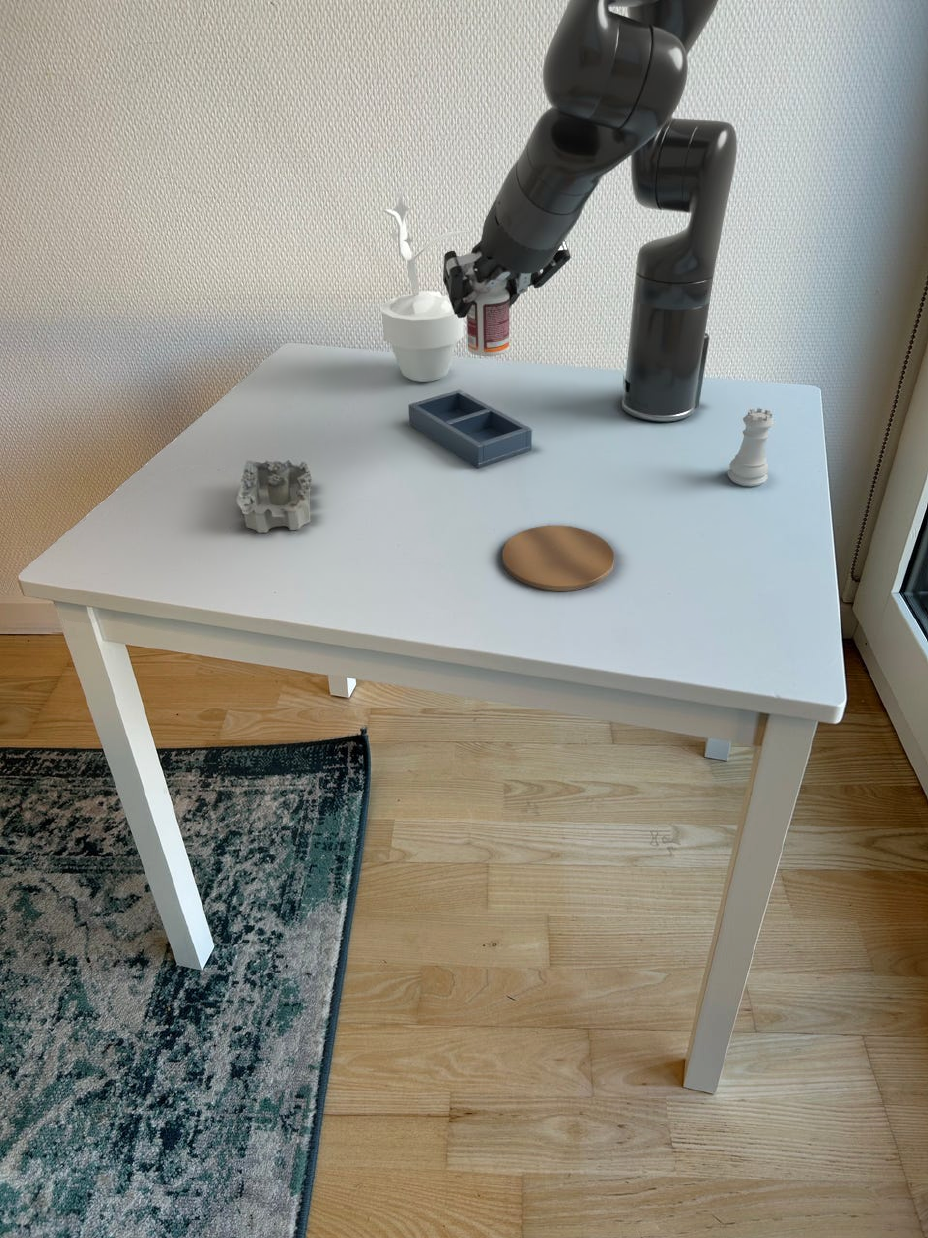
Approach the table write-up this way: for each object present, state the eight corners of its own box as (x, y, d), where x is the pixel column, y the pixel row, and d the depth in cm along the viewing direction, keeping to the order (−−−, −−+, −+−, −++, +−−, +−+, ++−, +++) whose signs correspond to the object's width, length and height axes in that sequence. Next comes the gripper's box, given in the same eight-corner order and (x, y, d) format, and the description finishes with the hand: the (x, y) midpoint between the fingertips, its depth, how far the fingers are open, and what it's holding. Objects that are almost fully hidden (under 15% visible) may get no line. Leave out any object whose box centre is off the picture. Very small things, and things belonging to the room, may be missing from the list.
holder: (460, 409, 115) (459, 389, 113) (531, 450, 105) (532, 428, 103) (409, 424, 111) (408, 404, 109) (478, 468, 101) (478, 446, 99)
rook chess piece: (770, 473, 99) (784, 407, 94) (763, 491, 96) (778, 423, 91) (730, 466, 100) (743, 401, 96) (722, 483, 97) (735, 416, 92)
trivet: (564, 519, 92) (564, 514, 91) (637, 565, 84) (637, 560, 84) (480, 552, 87) (480, 547, 86) (550, 605, 79) (550, 599, 79)
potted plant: (376, 388, 121) (360, 193, 106) (395, 358, 130) (383, 174, 115) (465, 393, 119) (461, 195, 104) (477, 362, 128) (476, 176, 113)
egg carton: (311, 531, 90) (306, 497, 88) (239, 536, 90) (231, 501, 88) (316, 482, 99) (311, 450, 96) (250, 486, 98) (244, 453, 96)
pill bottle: (514, 344, 98) (515, 268, 93) (502, 359, 95) (502, 280, 90) (475, 340, 100) (474, 265, 95) (461, 354, 96) (459, 277, 91)
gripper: (588, 166, 83) (525, 267, 99) (452, 182, 78) (410, 285, 94) (613, 237, 82) (547, 326, 98) (478, 257, 77) (431, 348, 93)
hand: (480, 306), depth 96 cm, fingers closed on pill bottle, 4 cm apart
